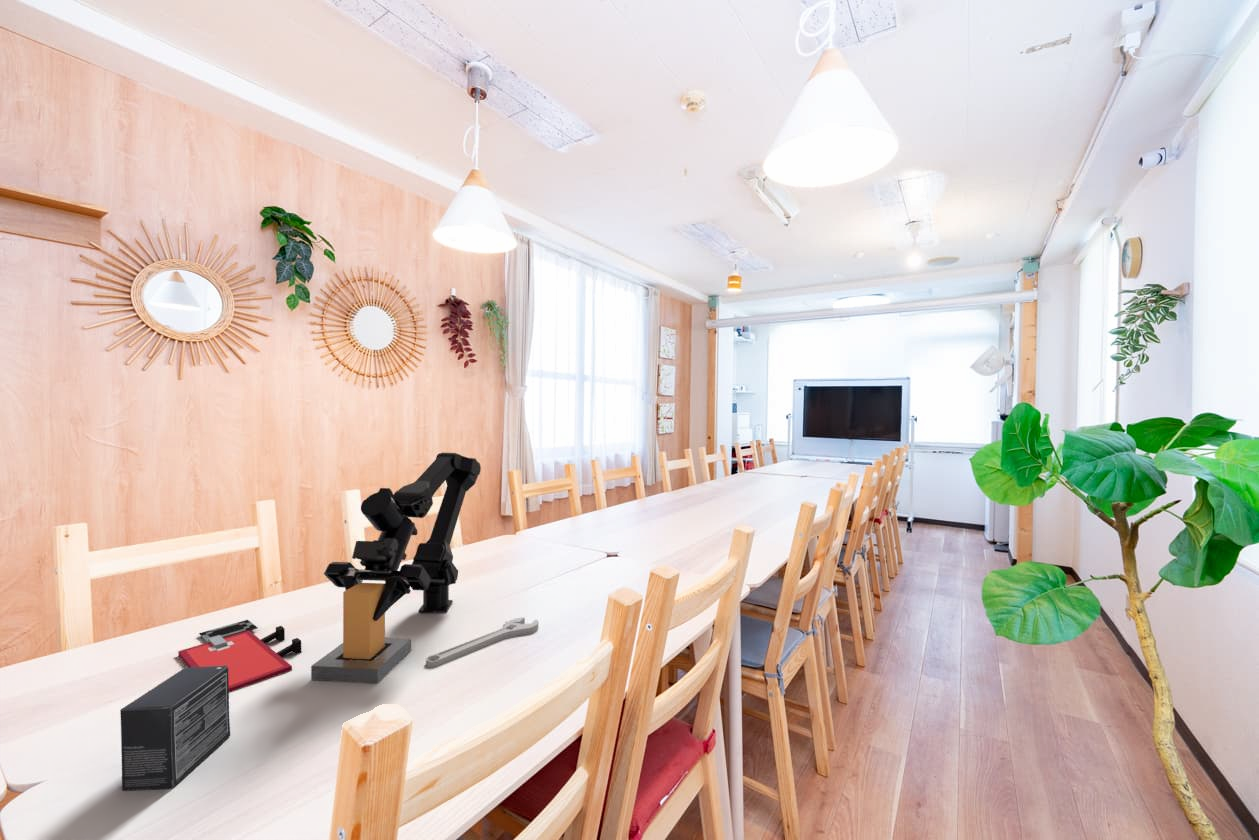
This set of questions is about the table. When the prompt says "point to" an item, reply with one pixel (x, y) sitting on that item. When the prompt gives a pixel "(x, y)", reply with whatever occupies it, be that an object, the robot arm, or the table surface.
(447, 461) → the robot arm
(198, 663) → the red board with handle
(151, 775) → the small box
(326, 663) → the gray square socket plate
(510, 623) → the adjustable wrench
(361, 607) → the tall tan rectangular block
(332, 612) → the table surface
